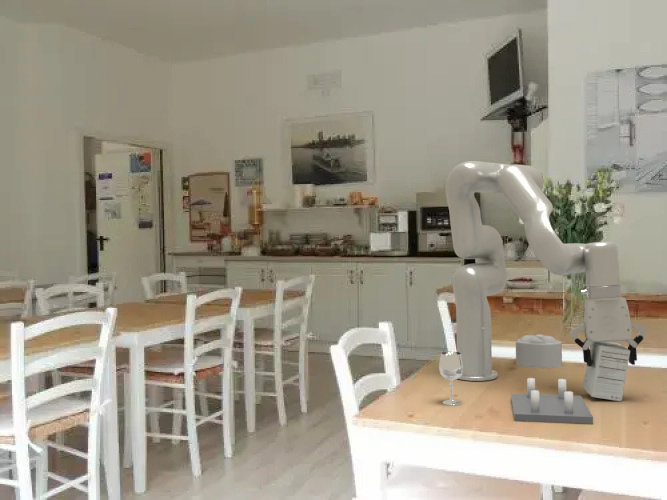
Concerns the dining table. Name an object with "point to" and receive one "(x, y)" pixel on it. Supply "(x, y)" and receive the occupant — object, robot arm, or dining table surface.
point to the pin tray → (550, 406)
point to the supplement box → (607, 370)
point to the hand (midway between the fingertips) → (610, 364)
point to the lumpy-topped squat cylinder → (538, 351)
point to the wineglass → (451, 371)
